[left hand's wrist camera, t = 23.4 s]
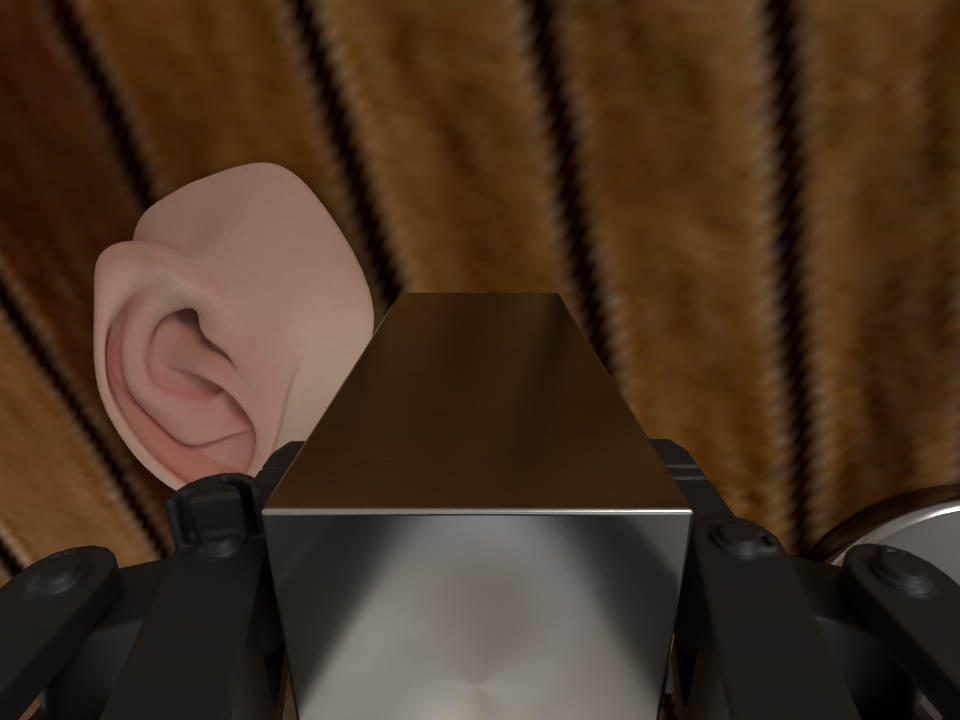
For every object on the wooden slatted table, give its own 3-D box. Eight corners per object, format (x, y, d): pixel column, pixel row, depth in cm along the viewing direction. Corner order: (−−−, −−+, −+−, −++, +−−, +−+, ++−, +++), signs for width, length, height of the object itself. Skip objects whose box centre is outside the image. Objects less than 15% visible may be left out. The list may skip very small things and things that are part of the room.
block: (558, 292, 15) (696, 510, 6) (550, 448, 17) (643, 820, 7) (399, 292, 15) (257, 510, 6) (407, 448, 17) (312, 820, 7)
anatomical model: (171, 95, 17) (432, 340, 20) (227, 107, 20) (440, 311, 23) (-28, 367, 20) (222, 541, 23) (52, 335, 24) (258, 488, 26)
